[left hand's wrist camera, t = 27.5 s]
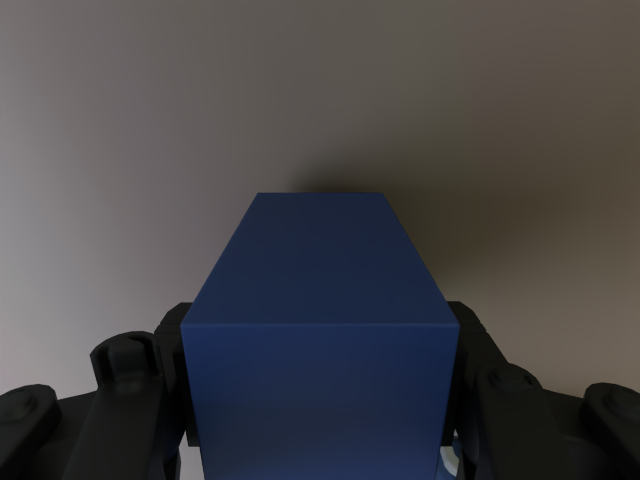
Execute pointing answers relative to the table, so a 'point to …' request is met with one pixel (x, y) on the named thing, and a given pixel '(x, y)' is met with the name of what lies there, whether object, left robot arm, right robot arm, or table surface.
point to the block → (320, 346)
